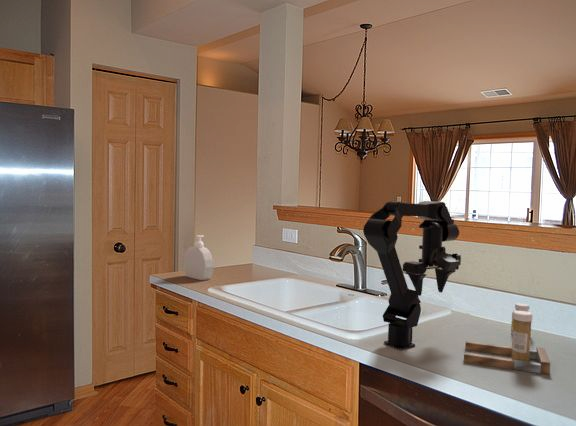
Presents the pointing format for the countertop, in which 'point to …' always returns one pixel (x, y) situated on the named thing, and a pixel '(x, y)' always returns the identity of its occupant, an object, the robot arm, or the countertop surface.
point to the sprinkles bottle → (521, 335)
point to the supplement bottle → (519, 308)
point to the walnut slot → (539, 354)
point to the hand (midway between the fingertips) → (430, 293)
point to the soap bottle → (198, 261)
